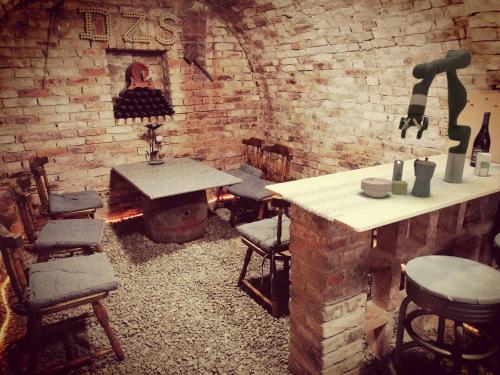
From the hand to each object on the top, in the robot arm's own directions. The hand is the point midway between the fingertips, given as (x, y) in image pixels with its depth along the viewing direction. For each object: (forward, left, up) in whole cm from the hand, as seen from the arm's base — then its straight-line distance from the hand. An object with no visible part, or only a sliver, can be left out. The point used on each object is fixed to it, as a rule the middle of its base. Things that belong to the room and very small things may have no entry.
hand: (410, 138), depth 172 cm
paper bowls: (-1, -13, -30) cm, 33 cm away
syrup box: (-59, +62, -30) cm, 90 cm away
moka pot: (-5, +9, -30) cm, 32 cm away
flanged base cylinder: (-24, +2, -30) cm, 38 cm away
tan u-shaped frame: (-12, -1, -30) cm, 32 cm away
